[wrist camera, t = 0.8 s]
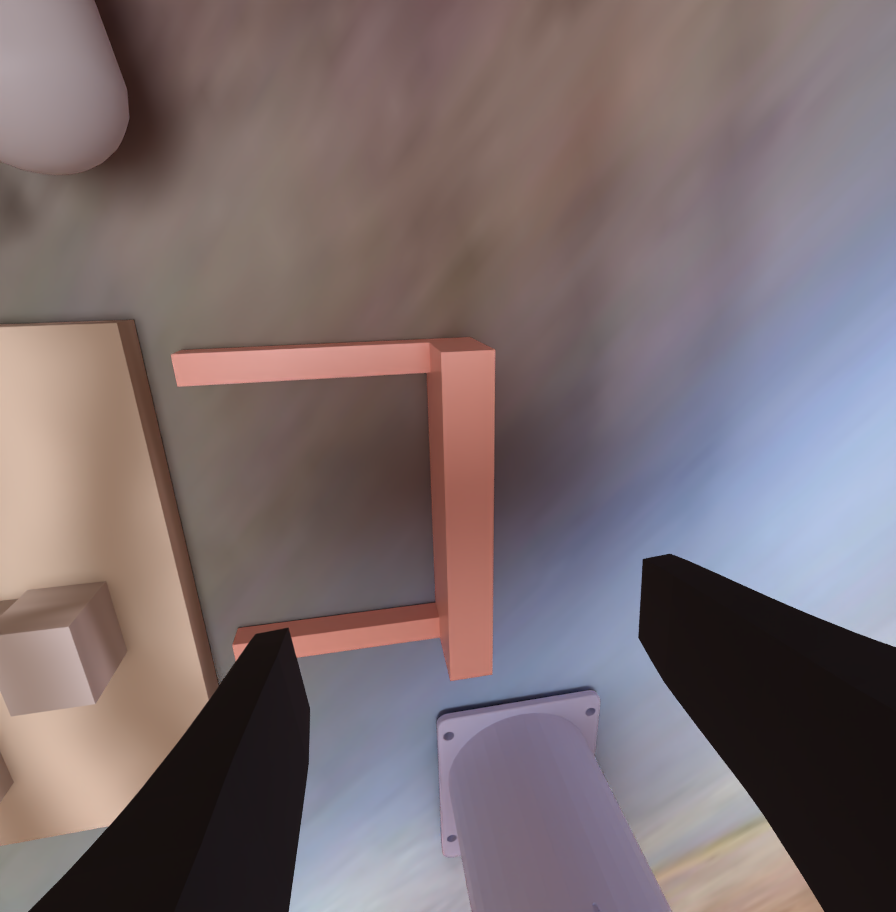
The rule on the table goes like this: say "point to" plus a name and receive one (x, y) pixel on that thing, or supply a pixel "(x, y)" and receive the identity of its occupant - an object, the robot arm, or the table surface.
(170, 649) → the architectural building model
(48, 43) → the clip-on lamp
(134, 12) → the table surface
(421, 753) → the table surface
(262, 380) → the u-shaped bracket
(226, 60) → the table surface
